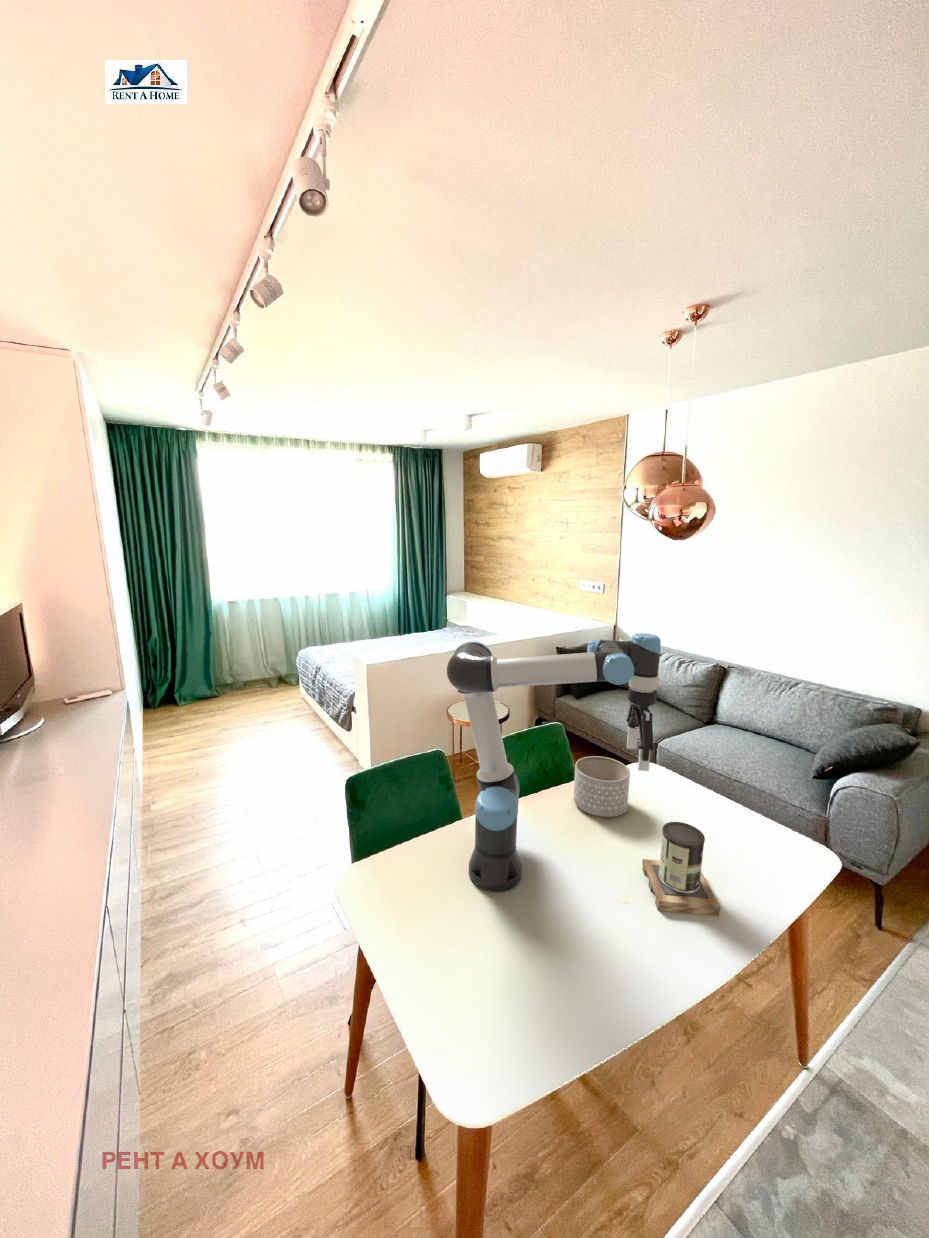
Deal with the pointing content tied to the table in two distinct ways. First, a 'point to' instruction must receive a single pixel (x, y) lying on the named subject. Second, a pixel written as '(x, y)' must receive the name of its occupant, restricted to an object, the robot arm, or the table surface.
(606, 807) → the planter
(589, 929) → the table surface
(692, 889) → the coffee can
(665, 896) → the dock
